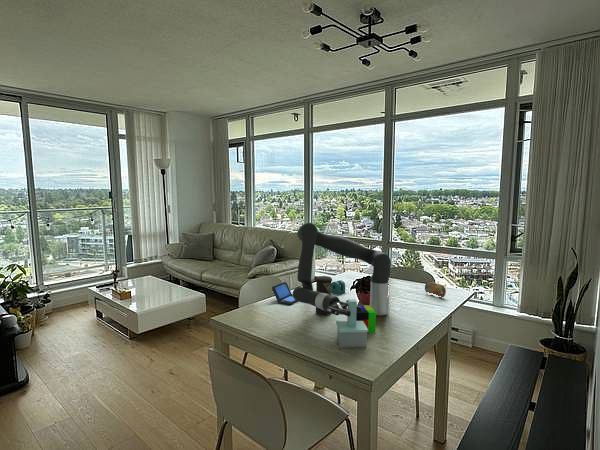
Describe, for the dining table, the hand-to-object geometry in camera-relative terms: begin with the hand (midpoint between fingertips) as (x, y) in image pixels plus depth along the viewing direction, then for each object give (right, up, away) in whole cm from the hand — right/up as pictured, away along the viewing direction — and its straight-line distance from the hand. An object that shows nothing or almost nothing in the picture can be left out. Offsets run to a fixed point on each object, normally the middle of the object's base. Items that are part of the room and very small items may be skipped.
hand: (355, 311), depth 144 cm
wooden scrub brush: (+62, -8, +71) cm, 95 cm away
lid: (-1, -7, +2) cm, 8 cm away
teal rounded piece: (-3, -7, +82) cm, 82 cm away
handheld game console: (-31, -9, +61) cm, 69 cm away
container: (-11, -11, +40) cm, 42 cm away
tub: (-2, -14, +3) cm, 15 cm away
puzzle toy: (+6, -13, +18) cm, 23 cm away
